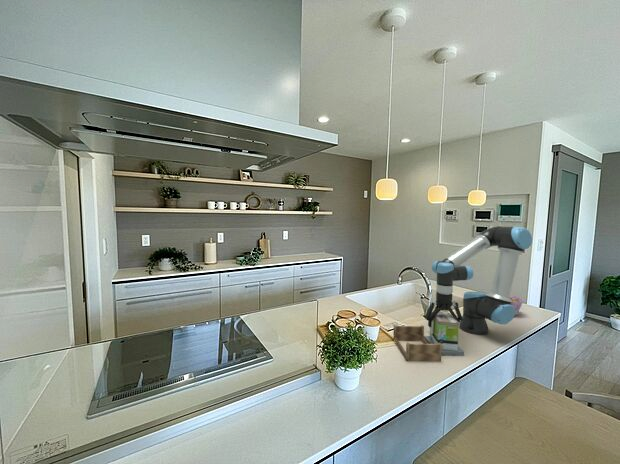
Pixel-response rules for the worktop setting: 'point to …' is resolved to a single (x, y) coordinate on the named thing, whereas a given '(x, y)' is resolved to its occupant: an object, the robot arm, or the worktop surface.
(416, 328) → the walnut caddy
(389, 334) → the worktop surface
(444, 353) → the slate board
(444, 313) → the tea box
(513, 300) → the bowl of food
